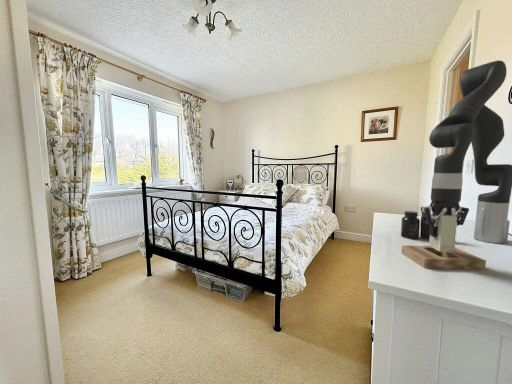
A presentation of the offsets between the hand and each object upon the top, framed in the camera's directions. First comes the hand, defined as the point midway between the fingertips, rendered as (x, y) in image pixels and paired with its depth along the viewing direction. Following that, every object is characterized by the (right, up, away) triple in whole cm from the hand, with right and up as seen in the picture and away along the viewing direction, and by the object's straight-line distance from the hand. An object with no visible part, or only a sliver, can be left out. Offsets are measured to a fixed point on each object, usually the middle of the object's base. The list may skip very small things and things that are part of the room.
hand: (441, 236), depth 72 cm
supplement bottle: (+8, -6, +26) cm, 28 cm away
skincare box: (0, -5, +1) cm, 5 cm away
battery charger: (+16, -6, +25) cm, 30 cm away
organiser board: (0, -8, +1) cm, 9 cm away
